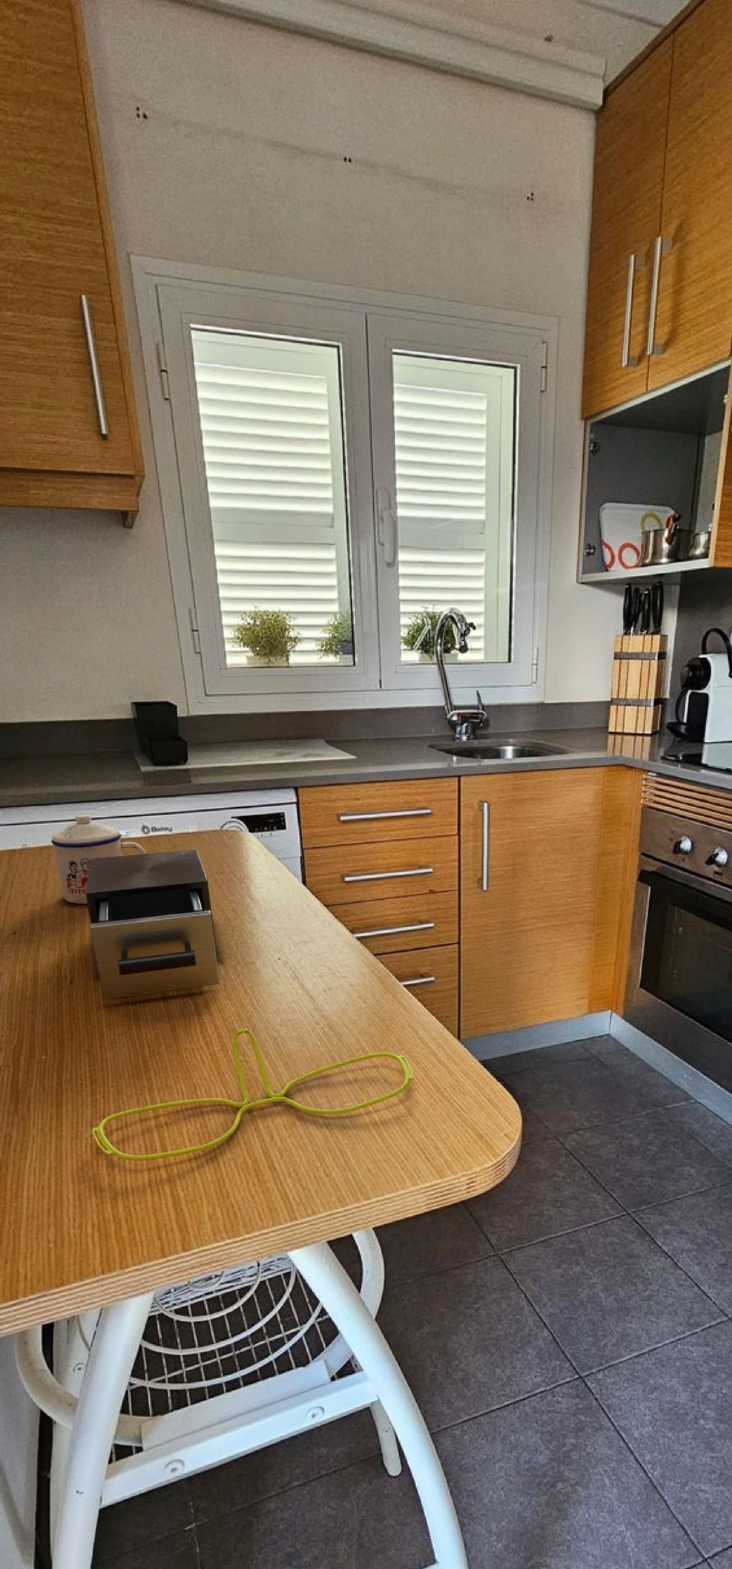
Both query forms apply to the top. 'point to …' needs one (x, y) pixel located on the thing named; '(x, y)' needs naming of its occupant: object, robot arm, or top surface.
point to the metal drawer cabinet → (146, 878)
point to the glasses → (245, 1104)
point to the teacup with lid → (84, 853)
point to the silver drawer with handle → (154, 944)
